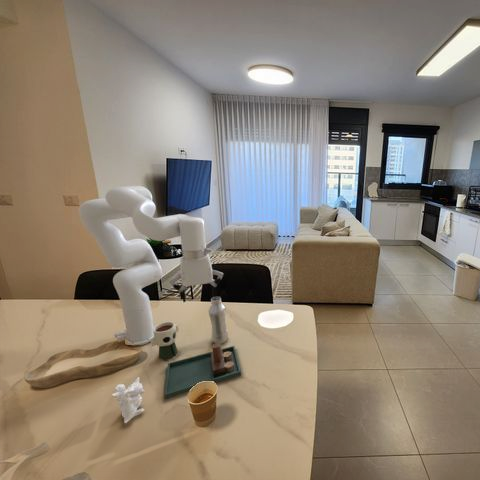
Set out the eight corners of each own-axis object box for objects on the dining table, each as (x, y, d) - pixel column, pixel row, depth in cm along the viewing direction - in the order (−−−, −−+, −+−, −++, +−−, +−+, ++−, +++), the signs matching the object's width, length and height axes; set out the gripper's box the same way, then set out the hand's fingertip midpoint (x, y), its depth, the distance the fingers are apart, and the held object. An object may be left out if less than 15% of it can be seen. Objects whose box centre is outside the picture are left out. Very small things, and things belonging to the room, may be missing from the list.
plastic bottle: (223, 347, 106) (219, 303, 101) (208, 345, 108) (203, 301, 102) (231, 337, 112) (228, 295, 107) (217, 335, 114) (213, 294, 108)
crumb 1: (223, 362, 97) (223, 357, 97) (223, 356, 100) (222, 352, 99) (232, 359, 98) (231, 355, 98) (231, 354, 101) (230, 350, 101)
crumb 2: (225, 373, 92) (225, 368, 91) (224, 367, 95) (224, 363, 94) (234, 370, 93) (234, 365, 93) (233, 364, 96) (232, 360, 95)
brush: (213, 377, 90) (211, 355, 87) (211, 359, 99) (209, 338, 96) (225, 374, 92) (223, 352, 89) (222, 356, 100) (220, 336, 98)
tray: (165, 400, 82) (164, 395, 81) (168, 368, 95) (167, 363, 94) (241, 376, 92) (240, 371, 91) (234, 350, 105) (234, 345, 104)
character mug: (161, 368, 95) (156, 337, 91) (148, 362, 98) (143, 332, 94) (187, 350, 104) (183, 321, 101) (175, 345, 107) (171, 317, 104)
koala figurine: (127, 431, 72) (119, 396, 69) (109, 424, 74) (100, 390, 71) (153, 405, 80) (147, 373, 77) (136, 400, 82) (130, 368, 79)
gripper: (220, 247, 97) (223, 289, 101) (166, 252, 89) (172, 297, 94) (222, 253, 90) (225, 298, 95) (165, 259, 83) (171, 307, 87)
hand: (199, 297), depth 94 cm, fingers open, 9 cm apart
